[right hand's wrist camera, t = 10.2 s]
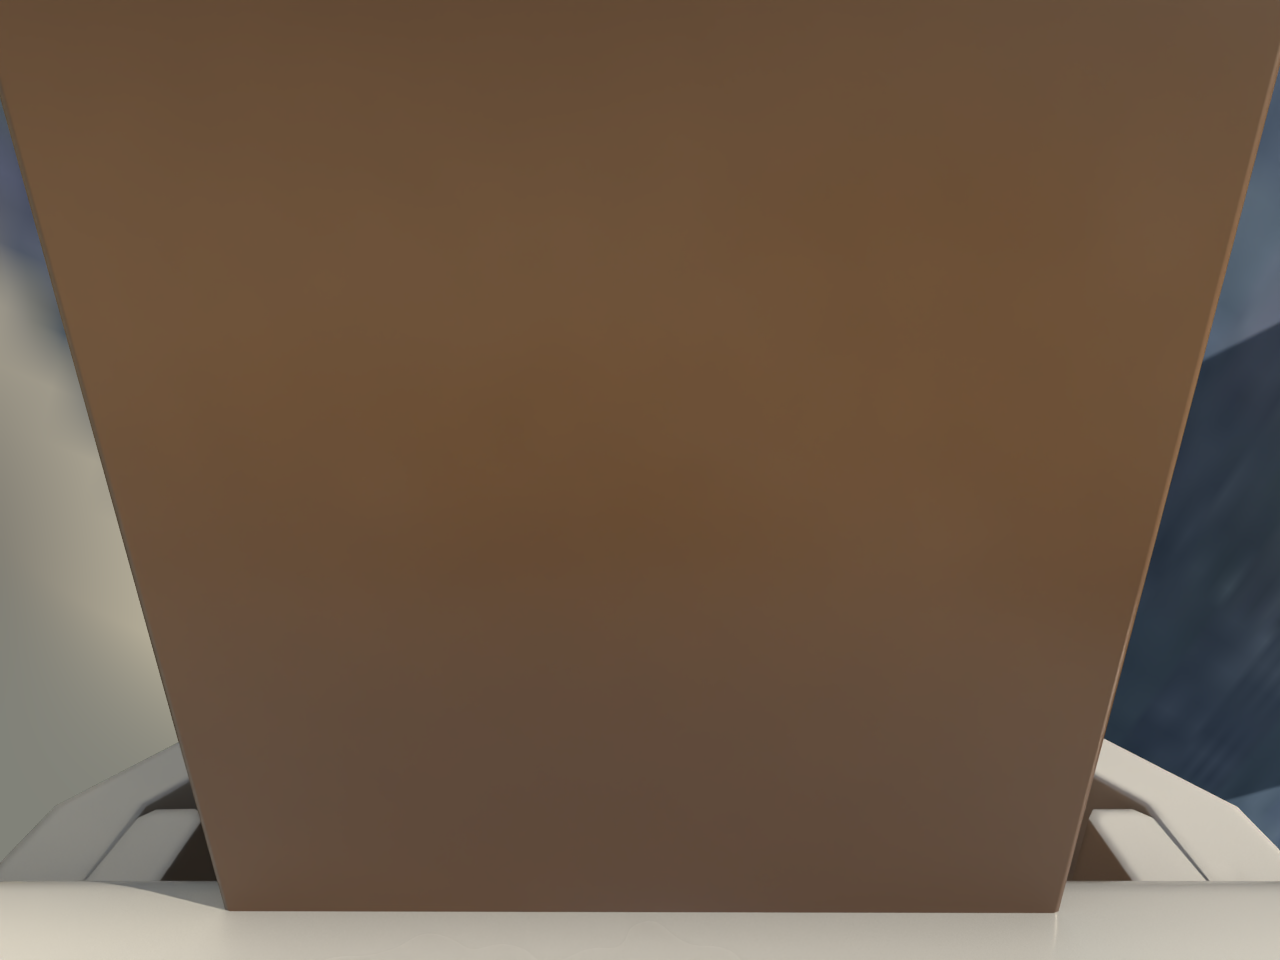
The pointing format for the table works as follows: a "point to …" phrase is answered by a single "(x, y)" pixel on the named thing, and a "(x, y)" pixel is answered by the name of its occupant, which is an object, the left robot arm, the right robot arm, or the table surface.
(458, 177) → the bar
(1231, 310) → the table surface
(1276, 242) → the table surface
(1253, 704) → the table surface
